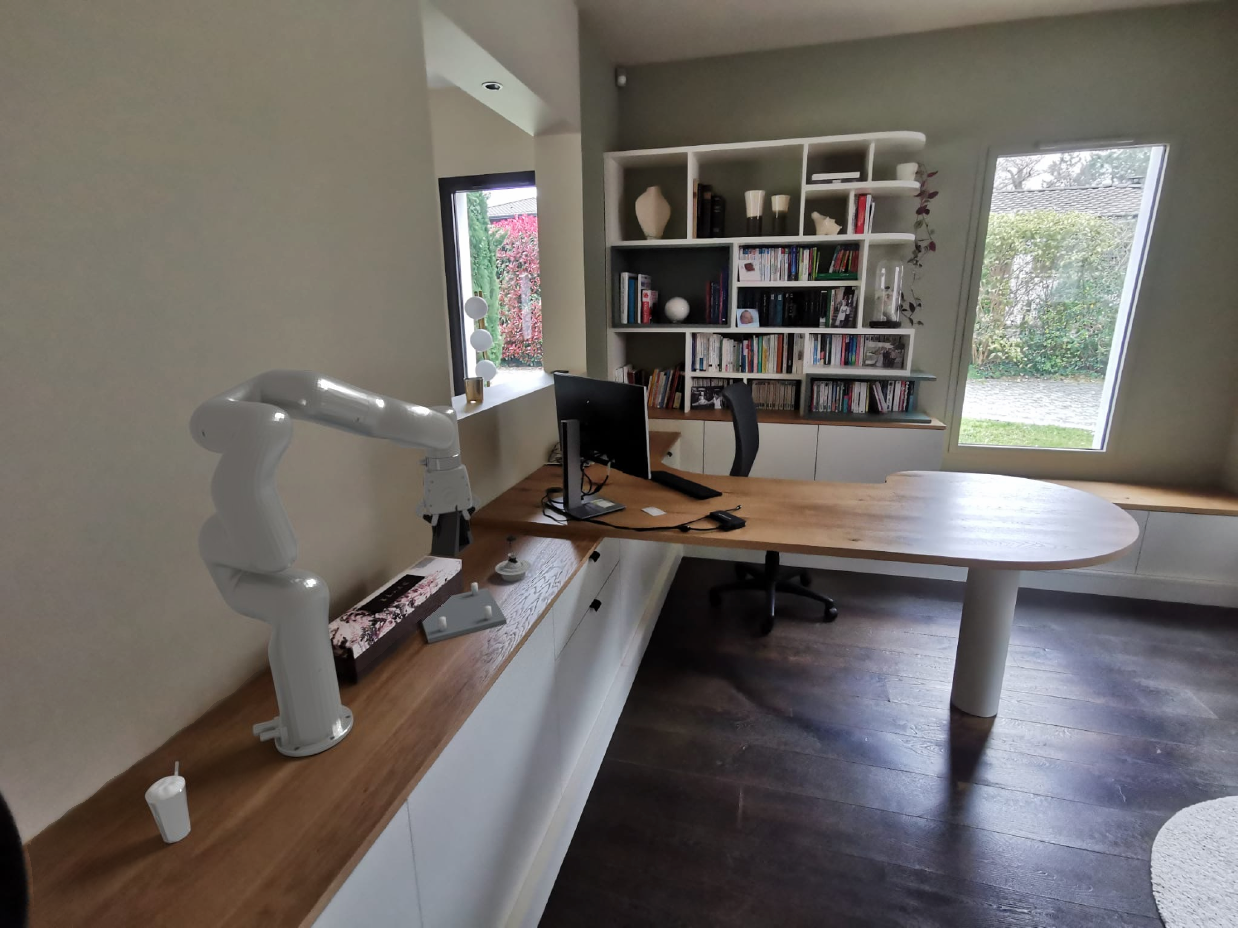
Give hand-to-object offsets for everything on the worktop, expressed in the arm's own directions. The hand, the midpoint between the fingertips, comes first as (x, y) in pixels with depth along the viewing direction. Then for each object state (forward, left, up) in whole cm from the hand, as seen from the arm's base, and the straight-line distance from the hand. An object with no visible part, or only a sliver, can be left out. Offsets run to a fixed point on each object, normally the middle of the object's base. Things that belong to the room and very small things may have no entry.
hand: (451, 536), depth 137 cm
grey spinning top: (+19, +17, -22) cm, 34 cm away
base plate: (+1, +2, -22) cm, 22 cm away
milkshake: (-49, -41, -22) cm, 68 cm away
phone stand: (0, 0, -3) cm, 3 cm away
